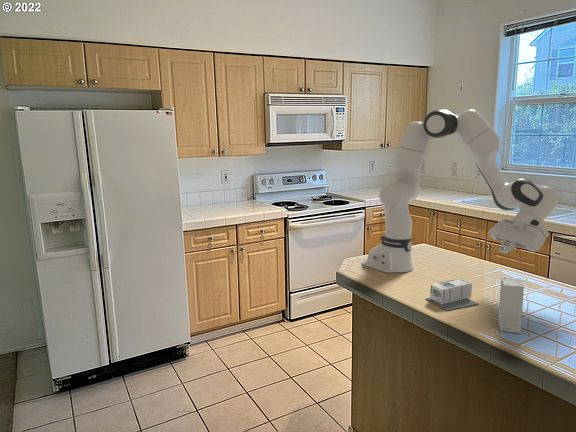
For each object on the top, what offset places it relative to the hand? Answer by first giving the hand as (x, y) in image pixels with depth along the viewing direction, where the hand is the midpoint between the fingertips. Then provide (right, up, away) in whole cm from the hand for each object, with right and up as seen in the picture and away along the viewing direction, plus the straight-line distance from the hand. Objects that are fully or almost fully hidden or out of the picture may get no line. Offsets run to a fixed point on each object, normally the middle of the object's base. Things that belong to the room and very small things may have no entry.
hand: (502, 252), depth 160 cm
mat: (-21, -17, -5) cm, 27 cm away
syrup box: (-14, -13, 0) cm, 19 cm away
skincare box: (-10, -22, -24) cm, 34 cm away
